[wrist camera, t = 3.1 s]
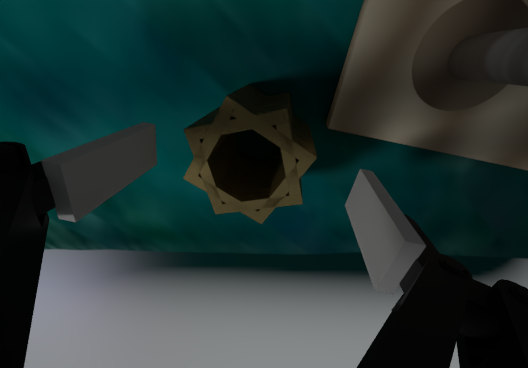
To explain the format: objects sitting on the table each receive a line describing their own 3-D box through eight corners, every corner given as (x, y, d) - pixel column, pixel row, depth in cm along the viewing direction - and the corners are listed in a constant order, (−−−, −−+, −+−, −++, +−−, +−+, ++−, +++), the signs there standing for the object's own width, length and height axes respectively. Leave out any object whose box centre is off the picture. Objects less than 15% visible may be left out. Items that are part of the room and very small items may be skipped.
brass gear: (229, 183, 22) (204, 230, 16) (200, 94, 19) (155, 111, 13) (315, 170, 21) (324, 217, 15) (302, 71, 17) (307, 77, 11)
